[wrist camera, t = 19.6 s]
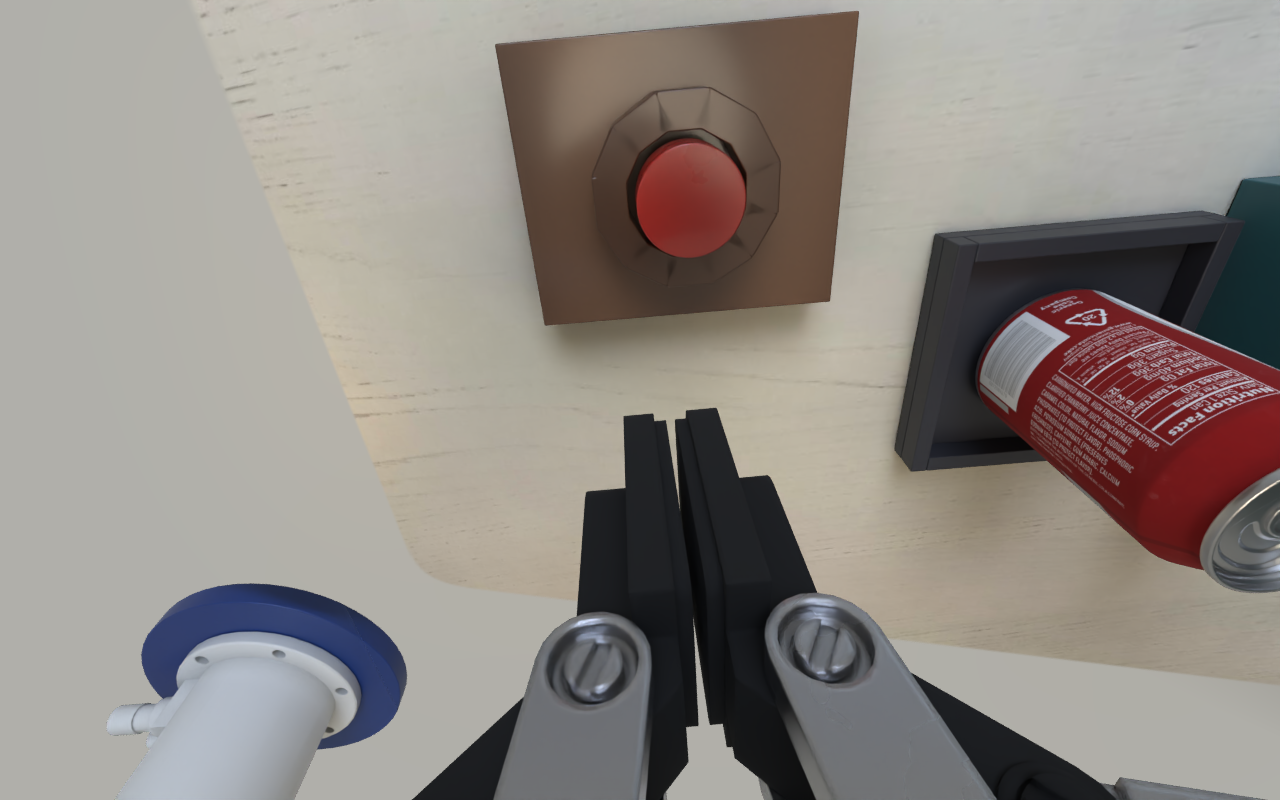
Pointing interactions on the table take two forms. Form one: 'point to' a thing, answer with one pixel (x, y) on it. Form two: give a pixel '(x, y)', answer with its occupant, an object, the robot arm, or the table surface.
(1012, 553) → the table surface
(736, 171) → the button
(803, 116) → the switch
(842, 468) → the table surface
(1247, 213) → the drinks machine
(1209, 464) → the soda can
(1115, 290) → the tray
